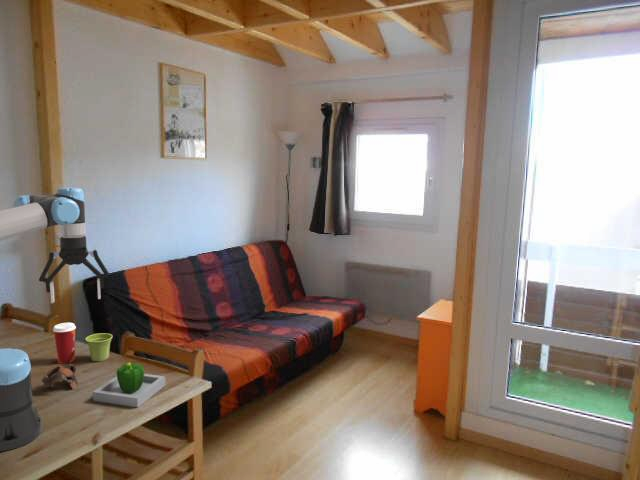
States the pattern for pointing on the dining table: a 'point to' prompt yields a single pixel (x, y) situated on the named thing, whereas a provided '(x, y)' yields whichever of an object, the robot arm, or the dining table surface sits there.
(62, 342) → the paper cup
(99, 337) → the plant pot
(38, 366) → the dining table surface
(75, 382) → the pottery mug
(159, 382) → the gray square tray
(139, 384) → the bell pepper
